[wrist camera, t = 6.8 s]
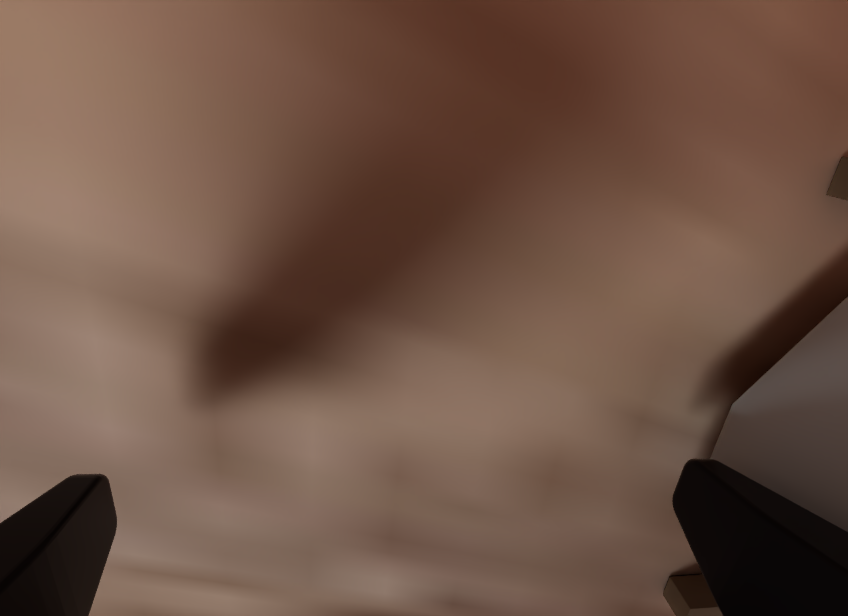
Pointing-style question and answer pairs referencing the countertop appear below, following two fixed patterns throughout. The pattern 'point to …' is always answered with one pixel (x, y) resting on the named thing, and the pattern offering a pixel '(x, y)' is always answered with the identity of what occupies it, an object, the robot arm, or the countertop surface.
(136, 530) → the countertop surface
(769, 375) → the flask
